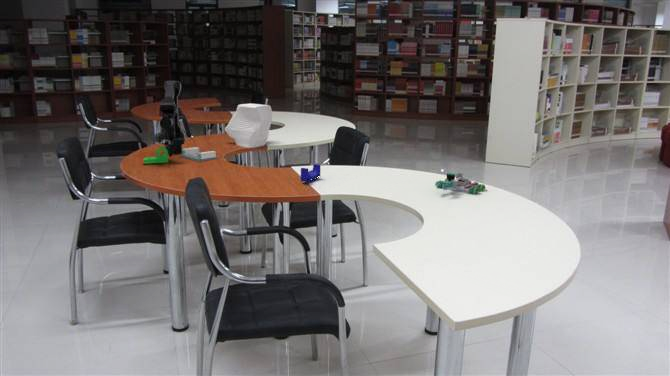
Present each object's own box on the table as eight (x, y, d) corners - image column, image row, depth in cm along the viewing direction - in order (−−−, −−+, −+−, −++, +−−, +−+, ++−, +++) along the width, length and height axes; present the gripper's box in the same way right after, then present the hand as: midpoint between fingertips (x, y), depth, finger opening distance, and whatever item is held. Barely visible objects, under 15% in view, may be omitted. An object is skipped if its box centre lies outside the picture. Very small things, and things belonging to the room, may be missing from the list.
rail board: (180, 156, 297) (179, 149, 296) (199, 154, 305) (198, 146, 304) (198, 161, 285) (198, 153, 284) (218, 159, 293) (218, 151, 292)
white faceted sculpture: (251, 151, 317) (250, 107, 311) (223, 145, 335) (222, 103, 329) (279, 148, 332) (278, 105, 326) (251, 142, 350) (250, 101, 344)
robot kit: (421, 195, 227) (422, 173, 225) (449, 185, 246) (451, 165, 244) (462, 203, 216) (464, 180, 214) (488, 192, 235) (490, 171, 233)
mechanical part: (168, 160, 288) (167, 145, 286) (168, 162, 282) (167, 147, 280) (143, 161, 284) (142, 146, 282) (143, 163, 278) (142, 147, 276)
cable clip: (312, 176, 258) (312, 163, 257) (320, 177, 256) (320, 164, 255) (298, 180, 248) (298, 167, 247) (306, 182, 246) (306, 169, 245)
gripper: (145, 126, 281) (147, 155, 285) (164, 129, 269) (166, 161, 273) (164, 124, 289) (166, 153, 293) (184, 127, 277) (185, 158, 280)
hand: (170, 156), depth 284 cm, fingers closed
